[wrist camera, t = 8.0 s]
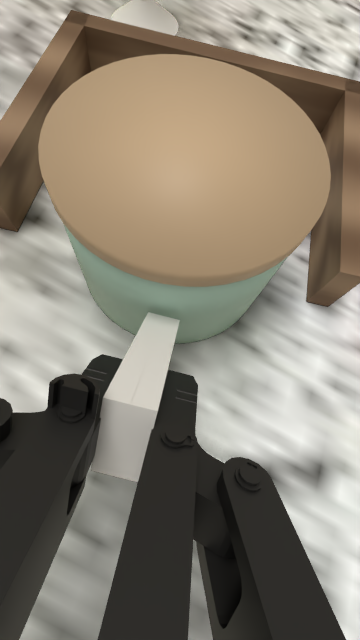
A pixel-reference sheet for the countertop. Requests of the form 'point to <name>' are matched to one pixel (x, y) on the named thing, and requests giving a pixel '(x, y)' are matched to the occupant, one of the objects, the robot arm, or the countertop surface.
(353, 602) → the countertop surface
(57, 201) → the green canister
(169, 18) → the champagne flute
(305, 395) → the countertop surface
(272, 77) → the walnut bay
